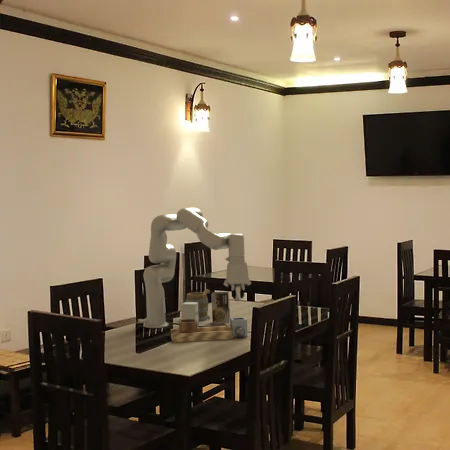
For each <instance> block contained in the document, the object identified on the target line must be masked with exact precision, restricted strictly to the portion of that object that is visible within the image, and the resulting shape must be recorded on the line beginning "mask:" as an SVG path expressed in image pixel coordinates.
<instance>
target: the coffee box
mask: <svg viewBox="0 0 450 450" xmlns="http://www.w3.org/2000/svg"><path fill="white" fill-rule="evenodd" d="M210 296H211V317H212V324H213V325H215V324H216V325H217V324H218V325H220V324H224V325H226V323H229V324H230V318H231V308H230V307H231V305H230V291H213V292H212V293H210Z"/></svg>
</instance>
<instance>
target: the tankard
mask: <svg viewBox="0 0 450 450" xmlns="http://www.w3.org/2000/svg"><path fill="white" fill-rule="evenodd" d="M207 294H211V290H210V289H209V288H206V289H205V290H204V291H198V292H197V291H195V292H189V293H186V298H185V302H198V317H199V322H202V321H203V322H204V321H207V319H208V320H210V319H211V316H210V315H209V314H208V312H209V299H208V295H207Z"/></svg>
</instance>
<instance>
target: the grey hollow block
mask: <svg viewBox="0 0 450 450" xmlns="http://www.w3.org/2000/svg"><path fill="white" fill-rule="evenodd" d="M229 324H230V325H231V327H232V336H233V338H241V339H242V338H245V337H246V338H247V337H248V319H247V318H246V317H245V316H243V317H242V316H241V317H230V323H229Z"/></svg>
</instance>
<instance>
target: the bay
mask: <svg viewBox="0 0 450 450" xmlns="http://www.w3.org/2000/svg"><path fill="white" fill-rule="evenodd" d="M233 338H234V337H233V336H232V327H231V325H230V323H226V324H225V325H220V326H204V327H200V326H199V327H198V332H196V333H179V328H171V329H170V339H171V342H172V343H177V342H178V343H180V342H183V343H184V342H197V341H200V342H201V341H212V340H215V341H216V340H232V339H233Z"/></svg>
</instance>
